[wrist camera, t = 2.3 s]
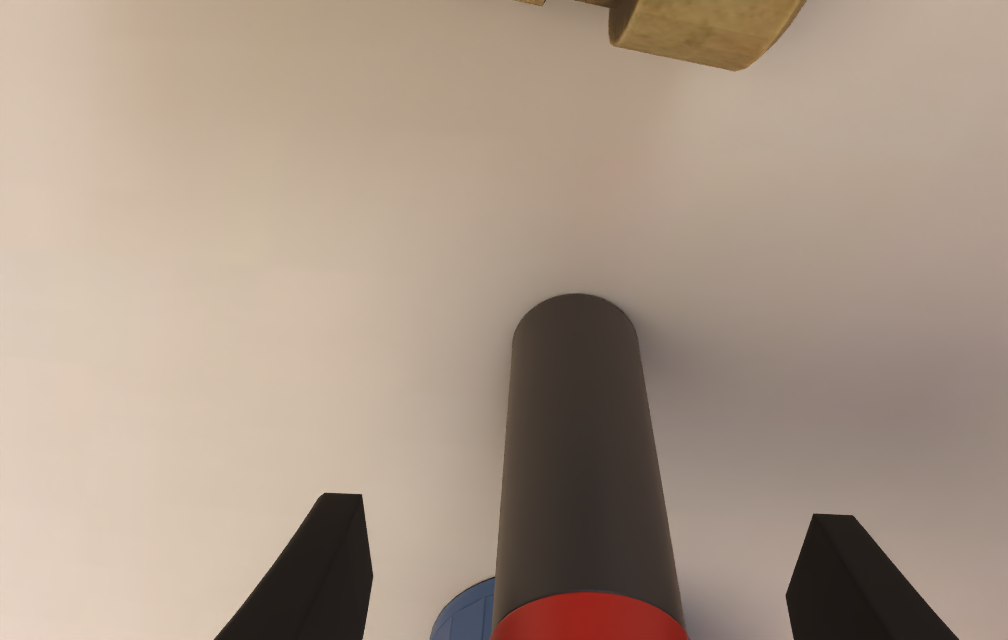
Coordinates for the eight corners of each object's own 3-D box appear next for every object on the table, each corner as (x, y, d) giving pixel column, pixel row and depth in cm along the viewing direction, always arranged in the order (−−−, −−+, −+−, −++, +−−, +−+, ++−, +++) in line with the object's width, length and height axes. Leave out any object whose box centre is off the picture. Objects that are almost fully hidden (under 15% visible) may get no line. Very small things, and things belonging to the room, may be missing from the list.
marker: (554, 268, 16) (558, 672, 8) (666, 330, 17) (761, 752, 9) (487, 362, 17) (437, 777, 10) (592, 414, 18) (621, 839, 10)
